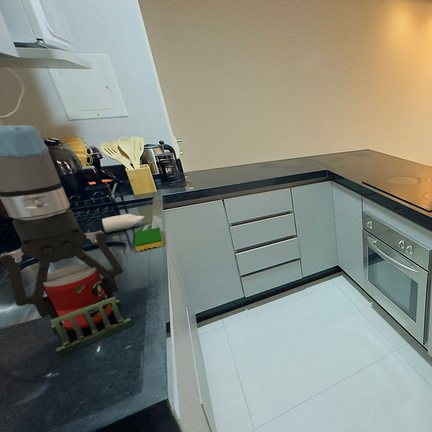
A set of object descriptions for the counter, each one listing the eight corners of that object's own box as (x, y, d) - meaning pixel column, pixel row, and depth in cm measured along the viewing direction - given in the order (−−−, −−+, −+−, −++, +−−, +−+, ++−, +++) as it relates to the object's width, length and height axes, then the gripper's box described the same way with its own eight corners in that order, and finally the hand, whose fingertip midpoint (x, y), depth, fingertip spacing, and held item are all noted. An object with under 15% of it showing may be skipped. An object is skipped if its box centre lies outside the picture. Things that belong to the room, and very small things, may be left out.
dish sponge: (161, 232, 109) (159, 226, 108) (163, 245, 99) (161, 239, 98) (136, 238, 105) (134, 231, 104) (136, 252, 95) (134, 245, 94)
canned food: (97, 328, 59) (76, 281, 55) (51, 333, 58) (26, 285, 54) (122, 304, 66) (105, 261, 62) (81, 308, 65) (62, 264, 61)
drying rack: (59, 357, 55) (42, 324, 52) (53, 330, 62) (38, 300, 59) (132, 325, 63) (121, 295, 60) (120, 304, 70) (110, 277, 67)
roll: (147, 227, 114) (142, 213, 112) (106, 234, 108) (101, 220, 106) (147, 222, 119) (143, 209, 117) (108, 229, 112) (102, 216, 110)
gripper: (-57, 237, 44) (12, 354, 52) (119, 203, 59) (152, 298, 67) (-51, 225, 49) (12, 335, 57) (111, 196, 63) (143, 286, 71)
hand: (88, 315), depth 62 cm, fingers closed on canned food, 8 cm apart
